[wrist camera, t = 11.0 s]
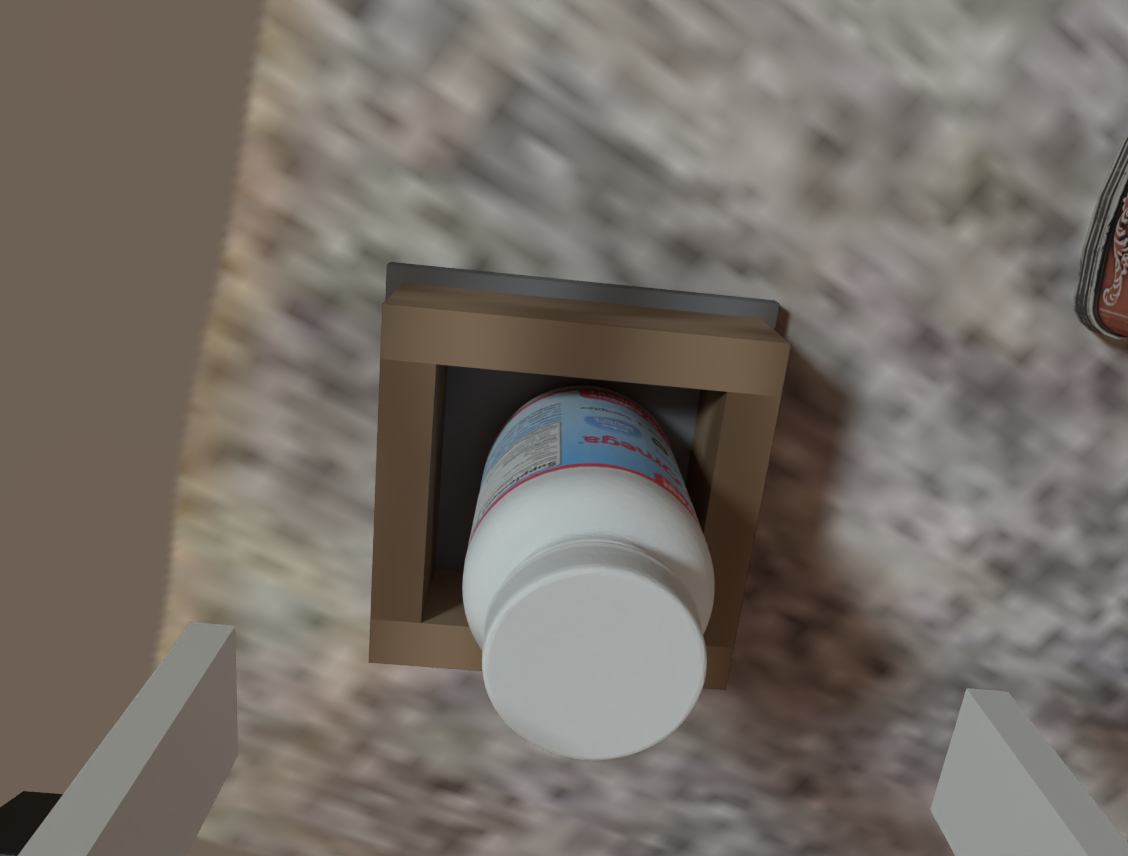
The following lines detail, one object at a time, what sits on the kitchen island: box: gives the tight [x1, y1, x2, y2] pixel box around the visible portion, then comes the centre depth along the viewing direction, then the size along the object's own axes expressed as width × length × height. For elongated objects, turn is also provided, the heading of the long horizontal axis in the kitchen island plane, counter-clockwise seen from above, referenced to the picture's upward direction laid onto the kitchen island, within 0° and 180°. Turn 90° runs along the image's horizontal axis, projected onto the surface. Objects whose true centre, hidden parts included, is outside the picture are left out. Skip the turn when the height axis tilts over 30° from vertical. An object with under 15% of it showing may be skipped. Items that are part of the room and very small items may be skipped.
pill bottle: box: [462, 385, 715, 760], centre depth 23 cm, size 6×6×11 cm
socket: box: [369, 262, 791, 690], centre depth 27 cm, size 12×12×4 cm
